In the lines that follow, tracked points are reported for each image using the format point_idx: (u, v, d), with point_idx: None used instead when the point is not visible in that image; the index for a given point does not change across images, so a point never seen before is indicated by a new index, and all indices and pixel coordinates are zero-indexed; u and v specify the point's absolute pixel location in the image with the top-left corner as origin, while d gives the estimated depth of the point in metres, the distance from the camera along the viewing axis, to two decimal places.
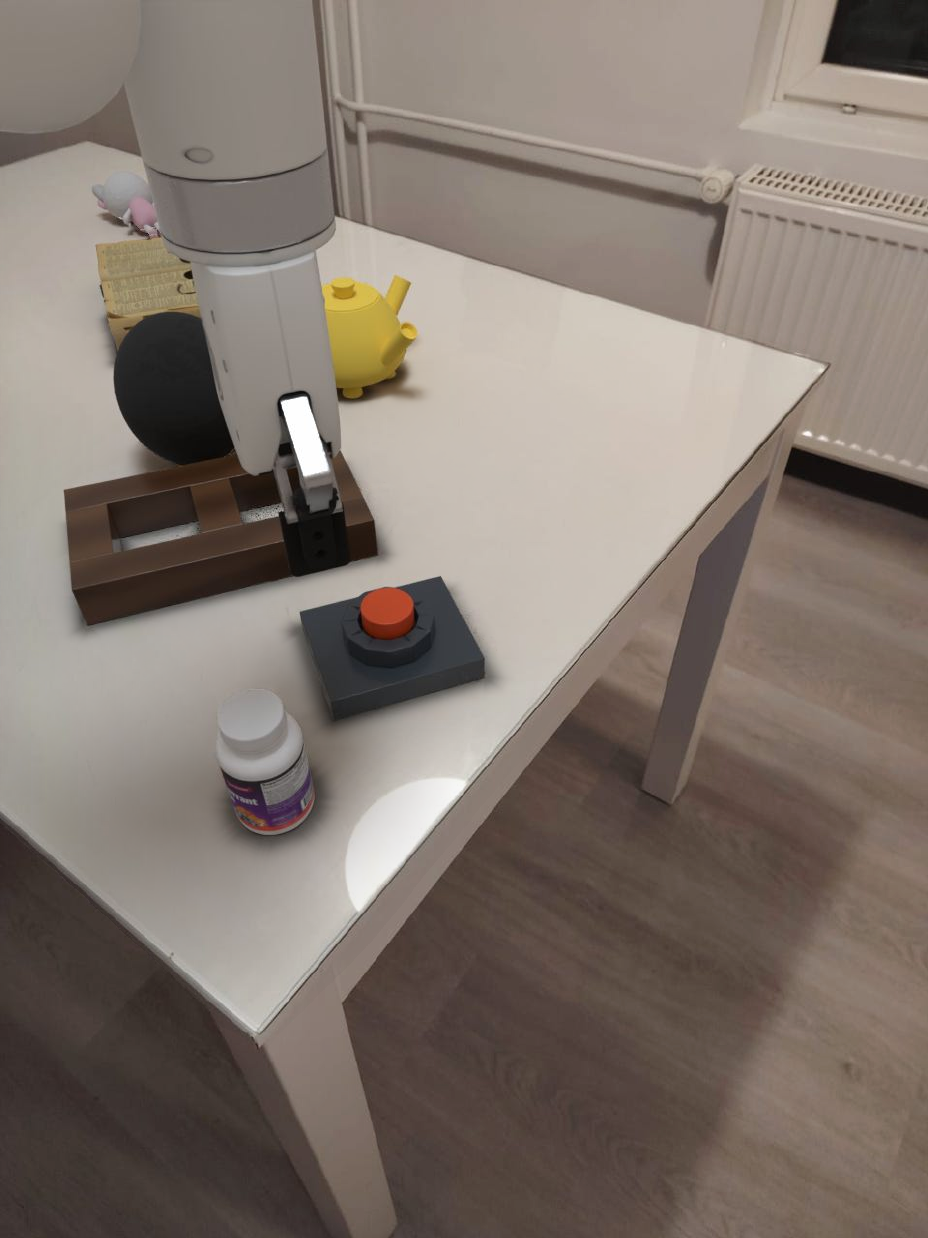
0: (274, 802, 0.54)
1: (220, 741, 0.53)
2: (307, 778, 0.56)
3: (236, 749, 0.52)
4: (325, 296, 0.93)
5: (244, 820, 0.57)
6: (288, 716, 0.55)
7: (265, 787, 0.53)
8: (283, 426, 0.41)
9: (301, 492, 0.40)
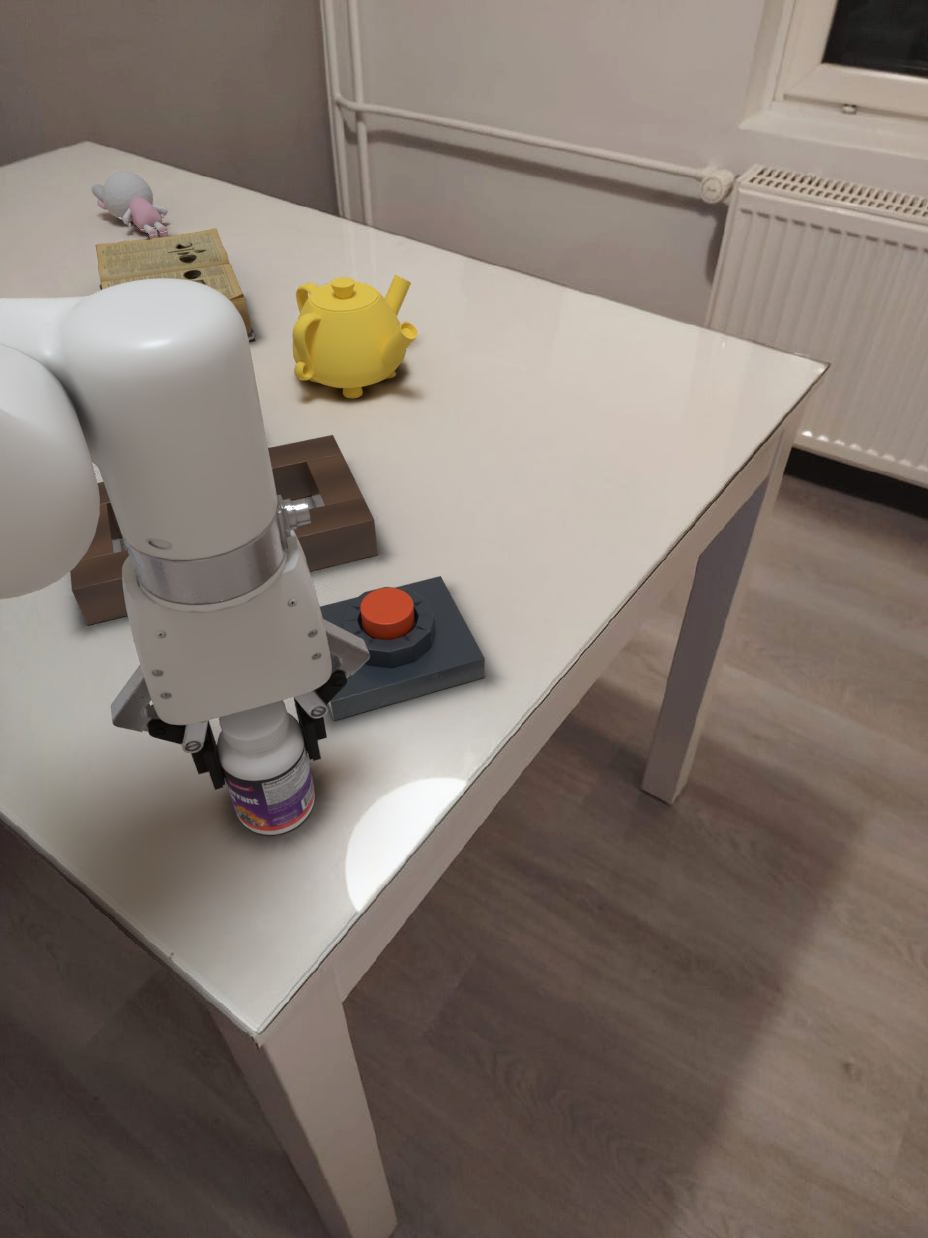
0: (275, 802, 0.54)
1: (221, 740, 0.53)
2: (308, 778, 0.56)
3: (238, 748, 0.52)
4: (325, 296, 0.93)
5: (244, 820, 0.57)
6: (290, 716, 0.55)
7: (266, 787, 0.53)
8: None
9: None
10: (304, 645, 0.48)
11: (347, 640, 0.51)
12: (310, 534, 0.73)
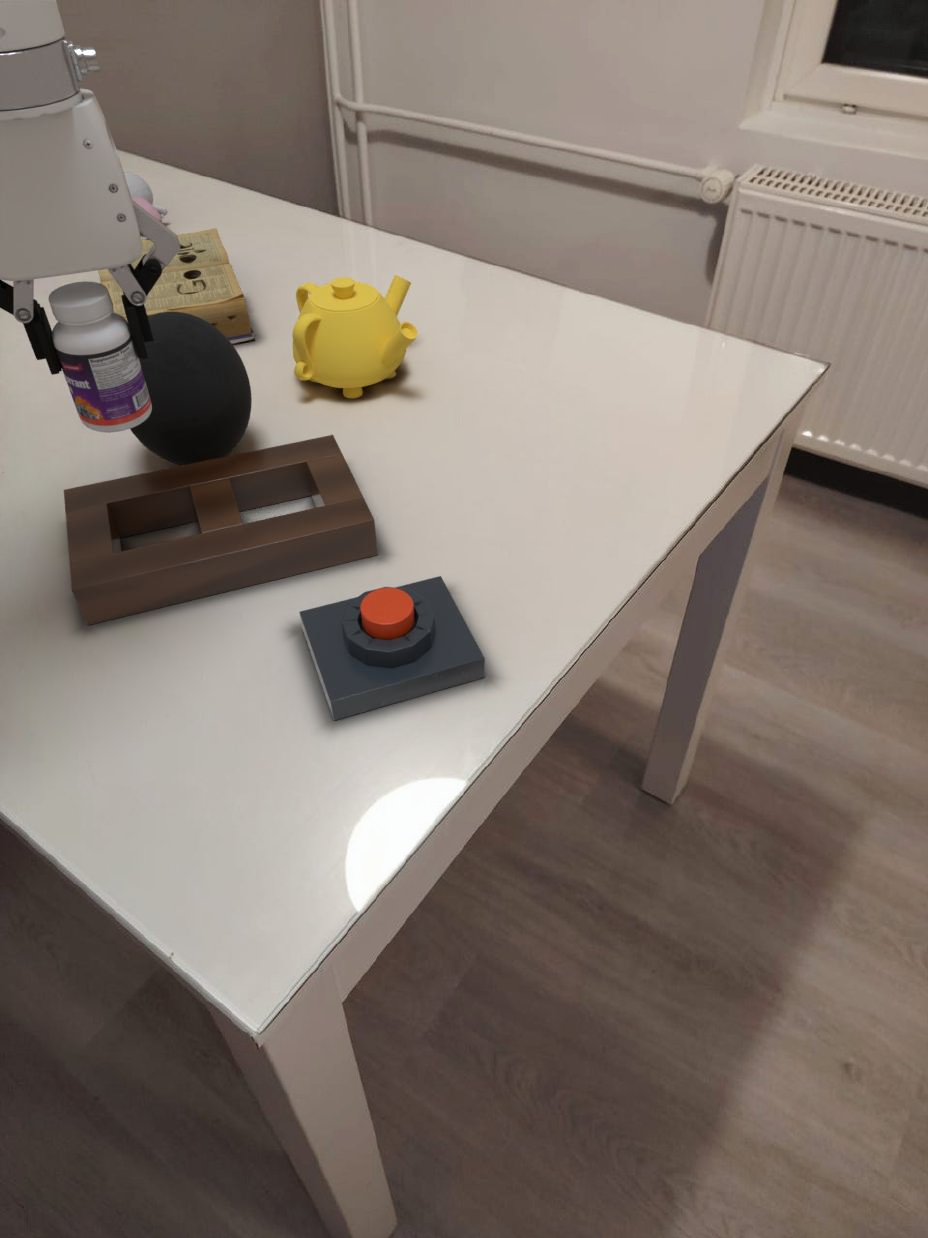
0: (104, 386, 0.62)
1: (55, 326, 0.61)
2: (138, 377, 0.64)
3: (64, 320, 0.60)
4: (325, 296, 0.93)
5: (83, 415, 0.65)
6: (118, 314, 0.63)
7: (93, 364, 0.61)
8: None
9: None
10: (107, 200, 0.56)
11: (155, 222, 0.59)
12: (310, 534, 0.73)
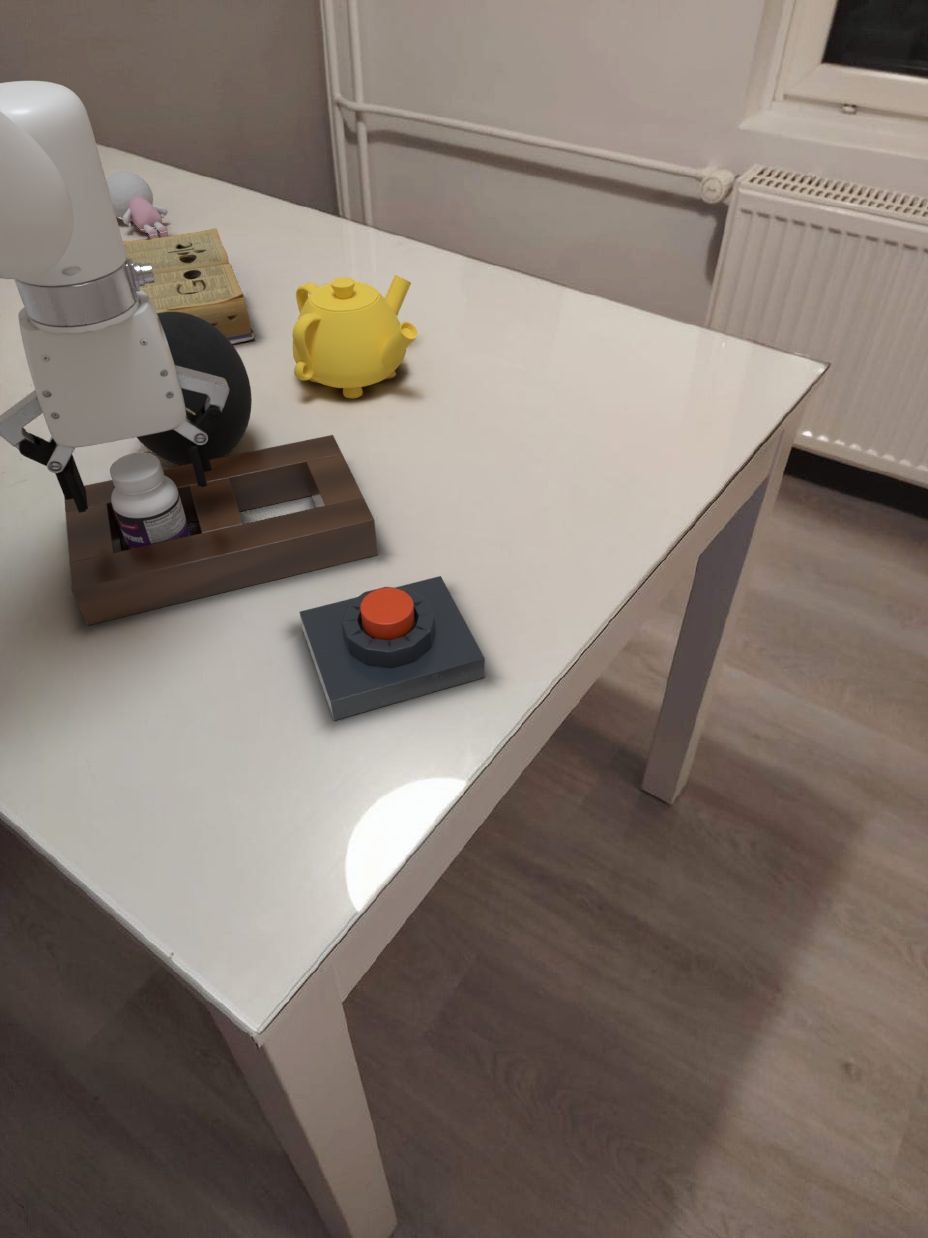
0: (156, 540, 0.73)
1: (114, 491, 0.72)
2: (184, 529, 0.75)
3: (123, 491, 0.70)
4: (325, 296, 0.93)
5: None
6: (167, 477, 0.73)
7: (147, 525, 0.71)
8: None
9: None
10: (158, 383, 0.65)
11: (202, 377, 0.68)
12: (310, 534, 0.73)
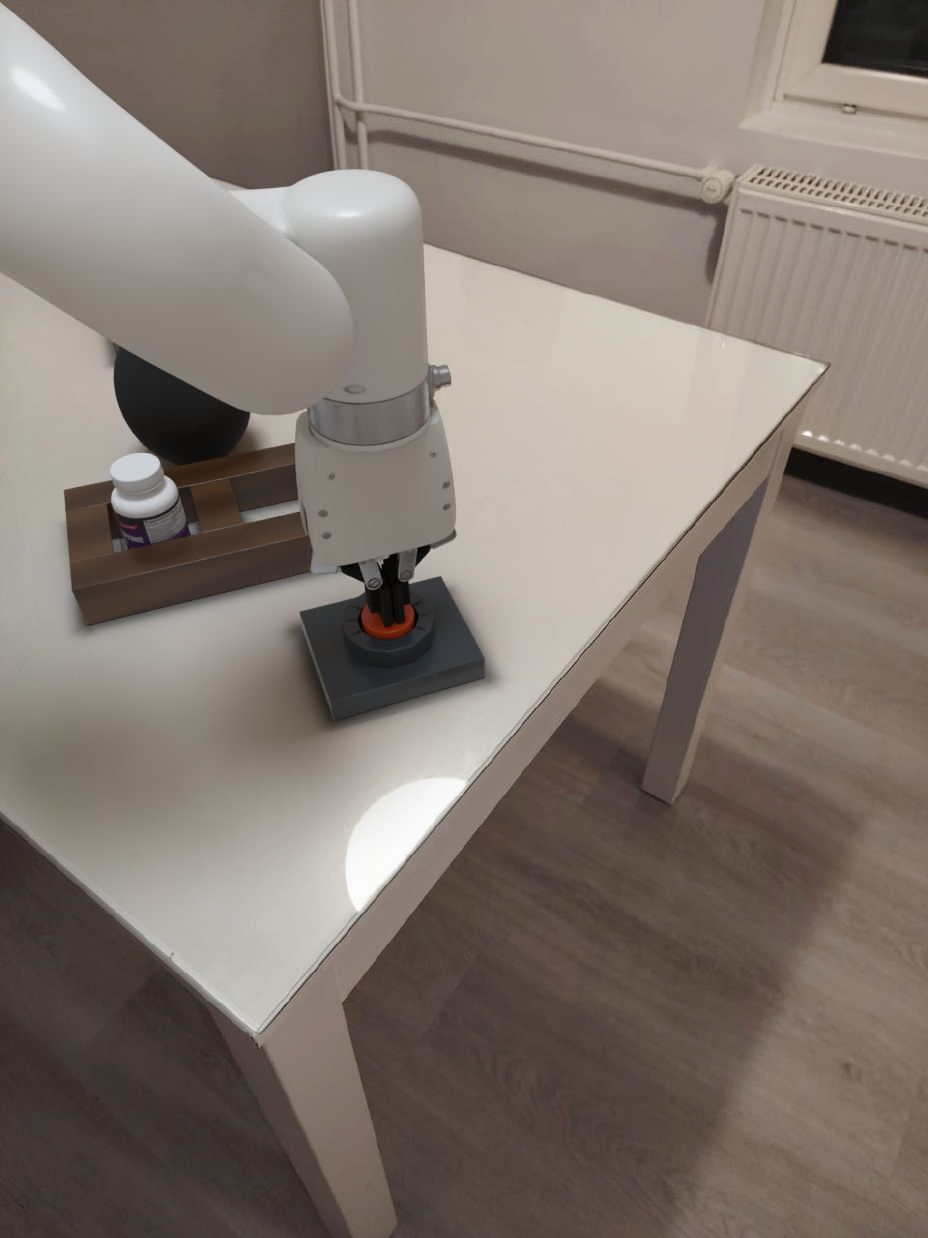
0: (156, 540, 0.73)
1: (114, 491, 0.72)
2: (184, 529, 0.75)
3: (123, 491, 0.70)
4: None
5: None
6: (167, 477, 0.73)
7: (147, 525, 0.71)
8: None
9: None
10: (438, 495, 0.57)
11: None
12: None
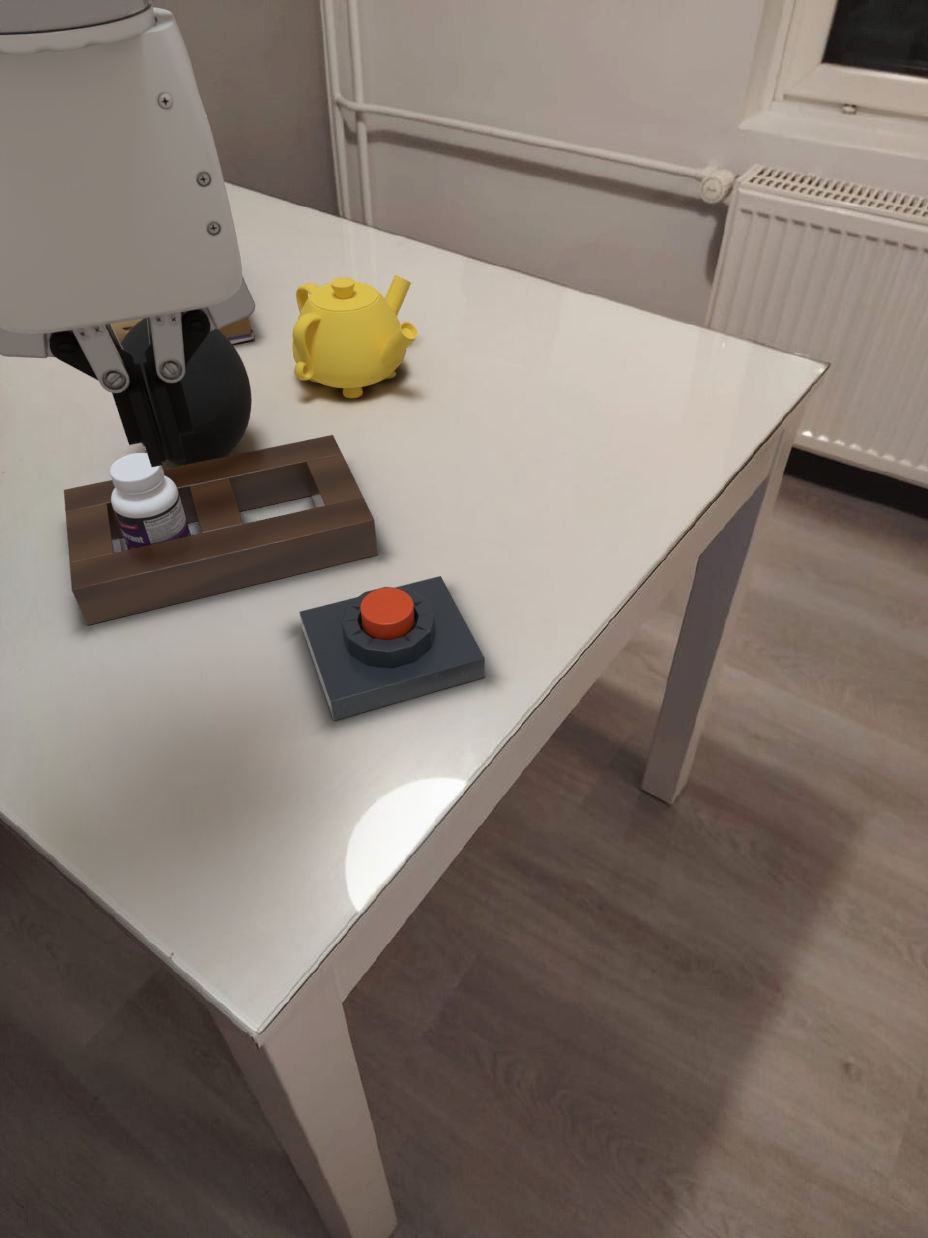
0: (156, 540, 0.73)
1: (114, 491, 0.72)
2: (184, 529, 0.75)
3: (123, 491, 0.70)
4: (325, 296, 0.93)
5: None
6: (167, 477, 0.73)
7: (147, 525, 0.71)
8: None
9: None
10: (193, 199, 0.33)
11: None
12: (310, 534, 0.73)
